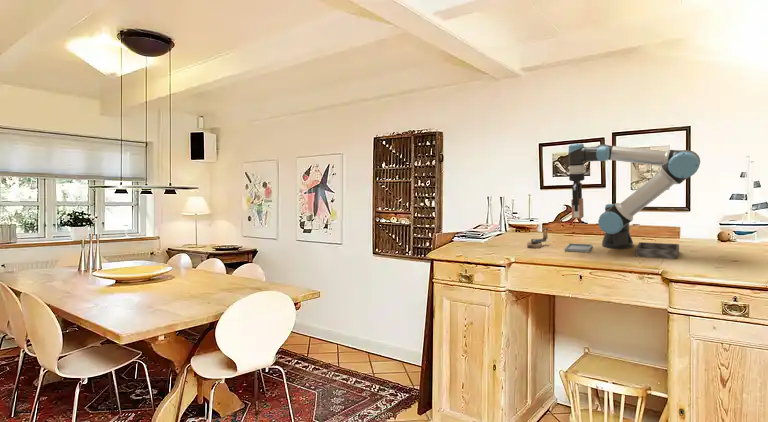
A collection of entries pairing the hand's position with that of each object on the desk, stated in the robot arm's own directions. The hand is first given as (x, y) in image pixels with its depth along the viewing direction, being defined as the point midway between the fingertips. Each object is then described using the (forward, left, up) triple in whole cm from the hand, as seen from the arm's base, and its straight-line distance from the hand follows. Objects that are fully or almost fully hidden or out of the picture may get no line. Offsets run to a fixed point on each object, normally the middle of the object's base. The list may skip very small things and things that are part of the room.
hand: (577, 216), depth 259 cm
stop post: (0, 0, -1) cm, 1 cm away
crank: (+19, -11, -16) cm, 27 cm away
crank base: (+22, -10, -18) cm, 30 cm away
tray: (0, 0, -18) cm, 18 cm away
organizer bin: (-34, +16, -18) cm, 42 cm away
